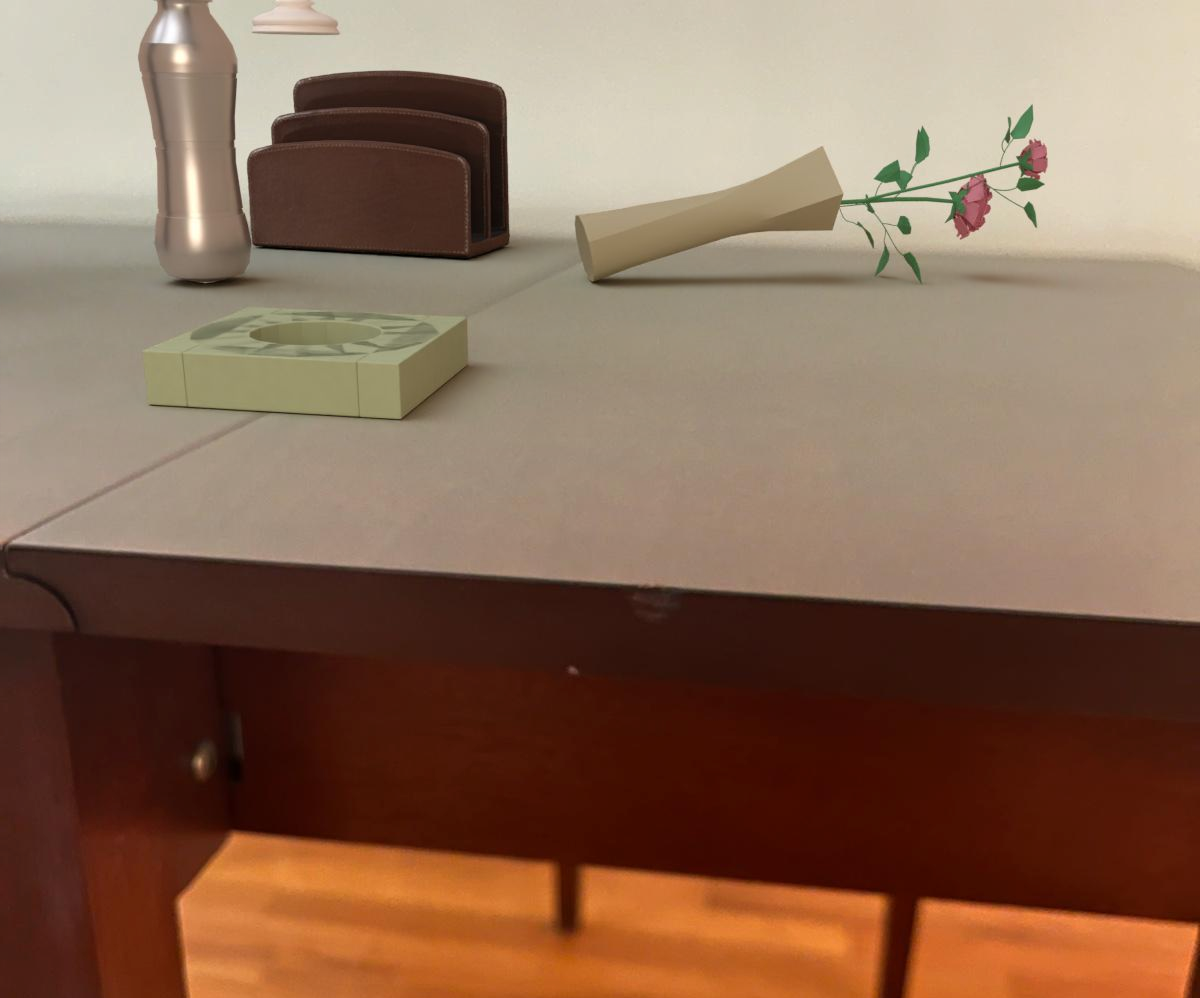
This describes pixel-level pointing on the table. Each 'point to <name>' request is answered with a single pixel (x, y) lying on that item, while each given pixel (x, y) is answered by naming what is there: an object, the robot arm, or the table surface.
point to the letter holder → (385, 166)
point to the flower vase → (785, 208)
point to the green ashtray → (308, 362)
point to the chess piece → (294, 20)
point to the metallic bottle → (194, 143)
